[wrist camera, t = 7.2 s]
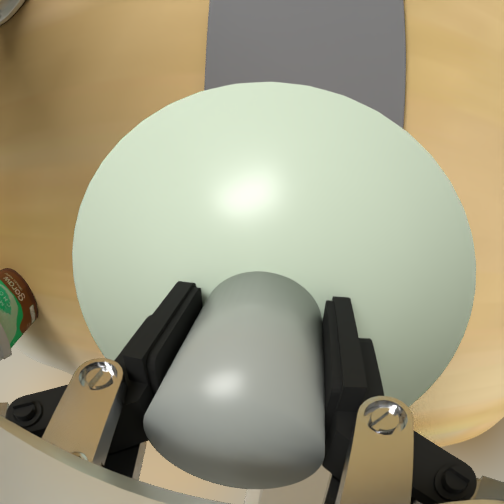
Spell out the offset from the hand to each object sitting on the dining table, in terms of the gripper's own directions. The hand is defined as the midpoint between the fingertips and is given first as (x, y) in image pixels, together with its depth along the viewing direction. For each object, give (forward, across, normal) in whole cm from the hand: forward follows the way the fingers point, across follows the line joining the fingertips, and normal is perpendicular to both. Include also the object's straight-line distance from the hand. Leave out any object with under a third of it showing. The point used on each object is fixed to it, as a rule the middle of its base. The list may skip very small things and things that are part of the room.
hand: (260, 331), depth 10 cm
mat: (+17, -1, -15) cm, 23 cm away
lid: (+1, 0, 0) cm, 1 cm away
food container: (+18, +36, +12) cm, 42 cm away
